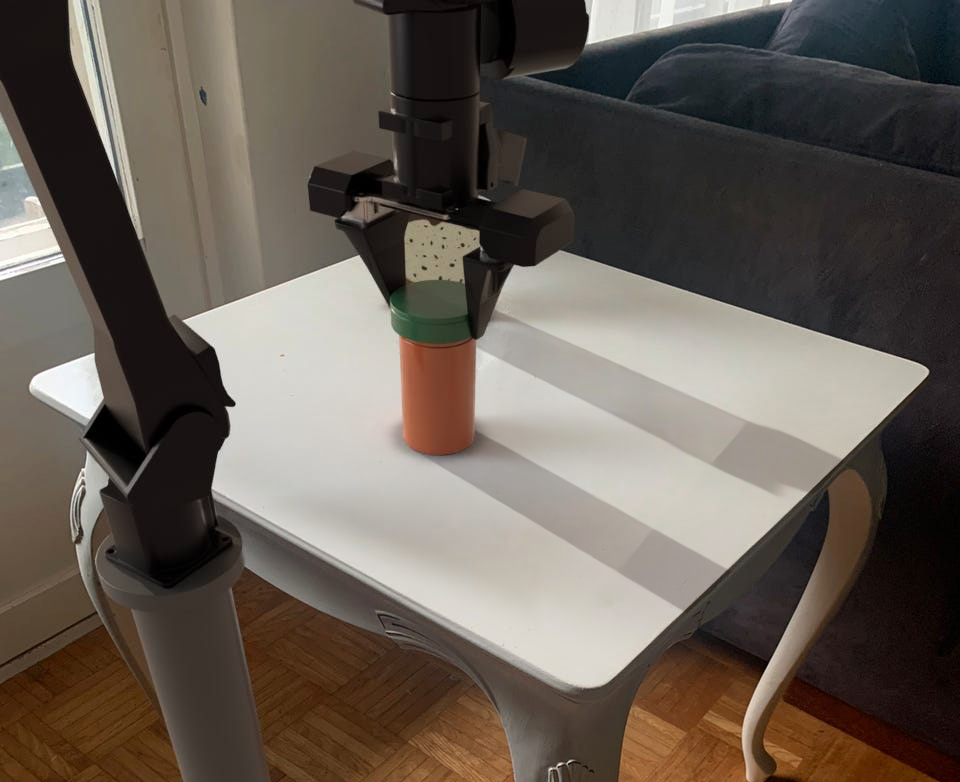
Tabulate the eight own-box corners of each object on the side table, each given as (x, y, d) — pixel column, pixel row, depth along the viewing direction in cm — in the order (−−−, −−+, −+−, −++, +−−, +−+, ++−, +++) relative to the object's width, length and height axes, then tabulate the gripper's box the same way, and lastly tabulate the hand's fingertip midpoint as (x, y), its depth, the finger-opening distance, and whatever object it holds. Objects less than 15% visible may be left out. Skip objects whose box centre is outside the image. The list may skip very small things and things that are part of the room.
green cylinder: (371, 327, 70) (369, 302, 68) (426, 296, 74) (426, 272, 73) (448, 353, 67) (448, 327, 66) (501, 319, 71) (502, 294, 70)
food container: (516, 299, 97) (521, 197, 90) (497, 324, 93) (501, 218, 86) (404, 281, 100) (401, 180, 93) (381, 304, 95) (376, 200, 89)
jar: (448, 463, 74) (447, 334, 67) (388, 440, 76) (382, 313, 69) (488, 431, 78) (491, 306, 70) (430, 411, 80) (428, 287, 73)
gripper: (624, 86, 61) (599, 317, 72) (392, 46, 68) (400, 262, 79) (538, 125, 54) (524, 375, 65) (289, 77, 62) (314, 309, 72)
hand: (438, 325), depth 71 cm, fingers closed on green cylinder, 7 cm apart
